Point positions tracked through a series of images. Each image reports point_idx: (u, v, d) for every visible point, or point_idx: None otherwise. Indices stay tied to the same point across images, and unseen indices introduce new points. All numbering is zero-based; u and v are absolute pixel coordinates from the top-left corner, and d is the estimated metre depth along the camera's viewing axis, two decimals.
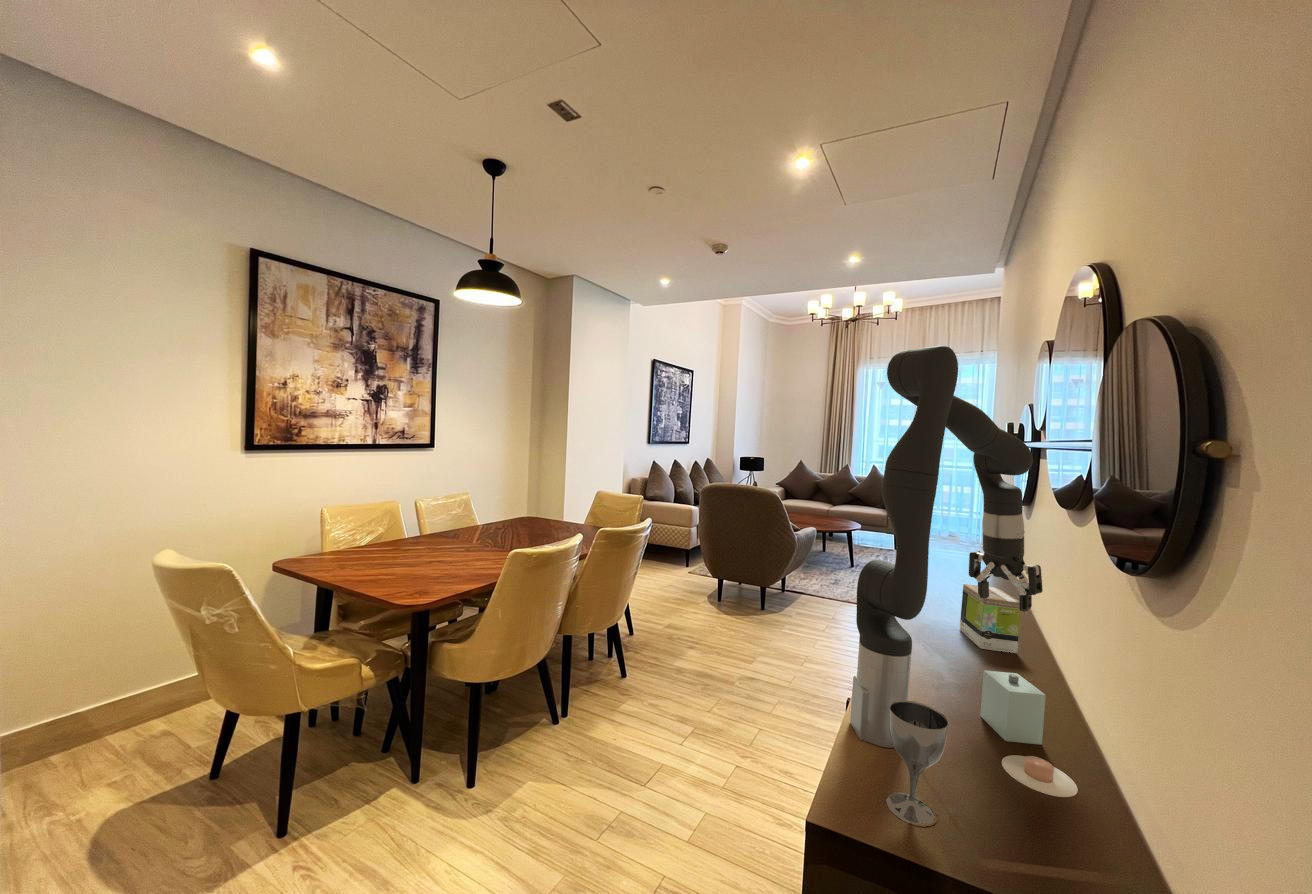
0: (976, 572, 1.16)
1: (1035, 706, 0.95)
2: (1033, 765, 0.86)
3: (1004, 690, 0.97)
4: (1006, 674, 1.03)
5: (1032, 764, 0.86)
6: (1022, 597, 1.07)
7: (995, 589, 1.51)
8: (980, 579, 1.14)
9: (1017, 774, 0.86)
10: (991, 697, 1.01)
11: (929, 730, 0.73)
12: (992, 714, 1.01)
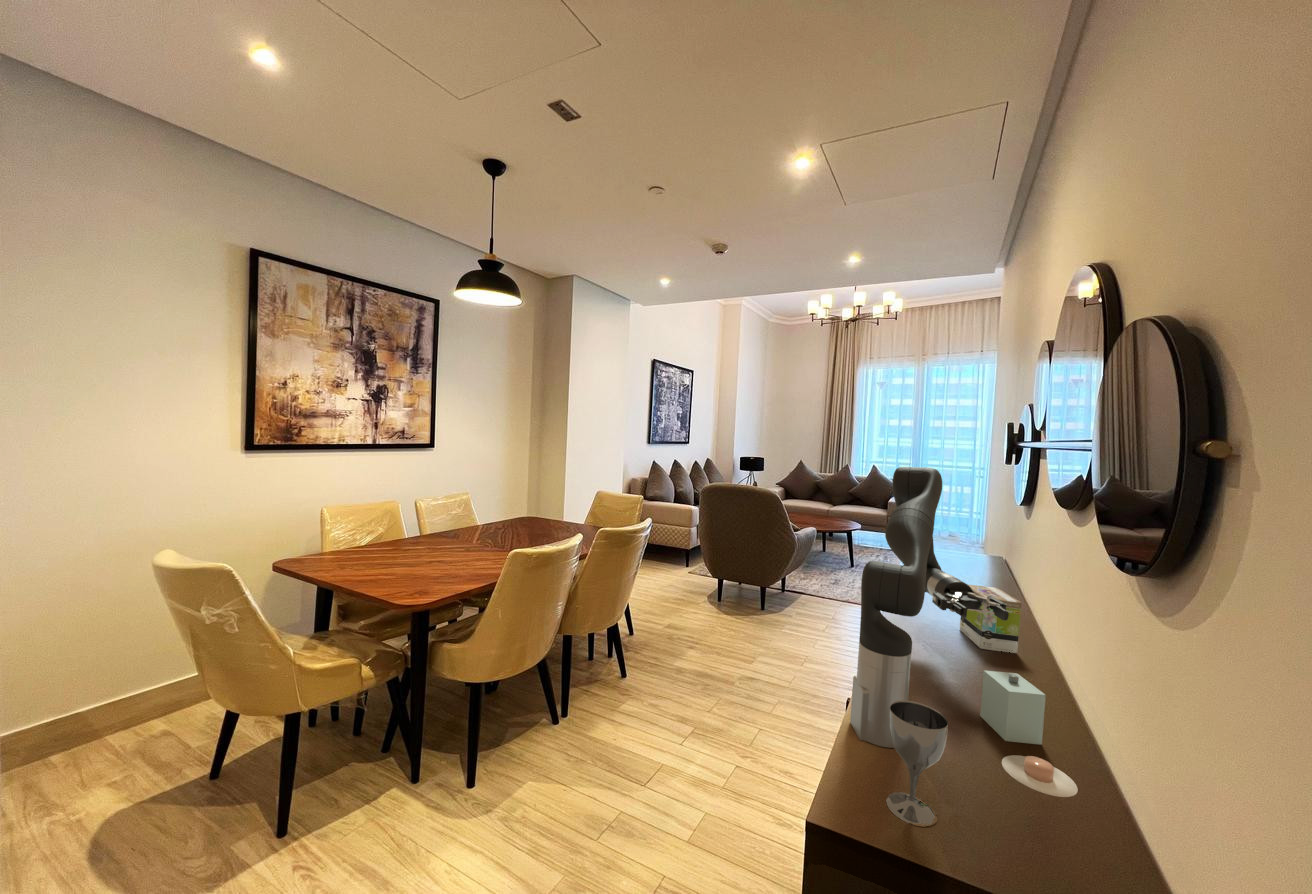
0: None
1: (1035, 706, 0.95)
2: (1033, 765, 0.86)
3: (1004, 690, 0.97)
4: (1006, 674, 1.03)
5: (1032, 764, 0.86)
6: (998, 606, 1.13)
7: (995, 589, 1.51)
8: (955, 600, 1.15)
9: (1017, 774, 0.86)
10: (991, 697, 1.01)
11: (929, 730, 0.73)
12: (992, 714, 1.01)
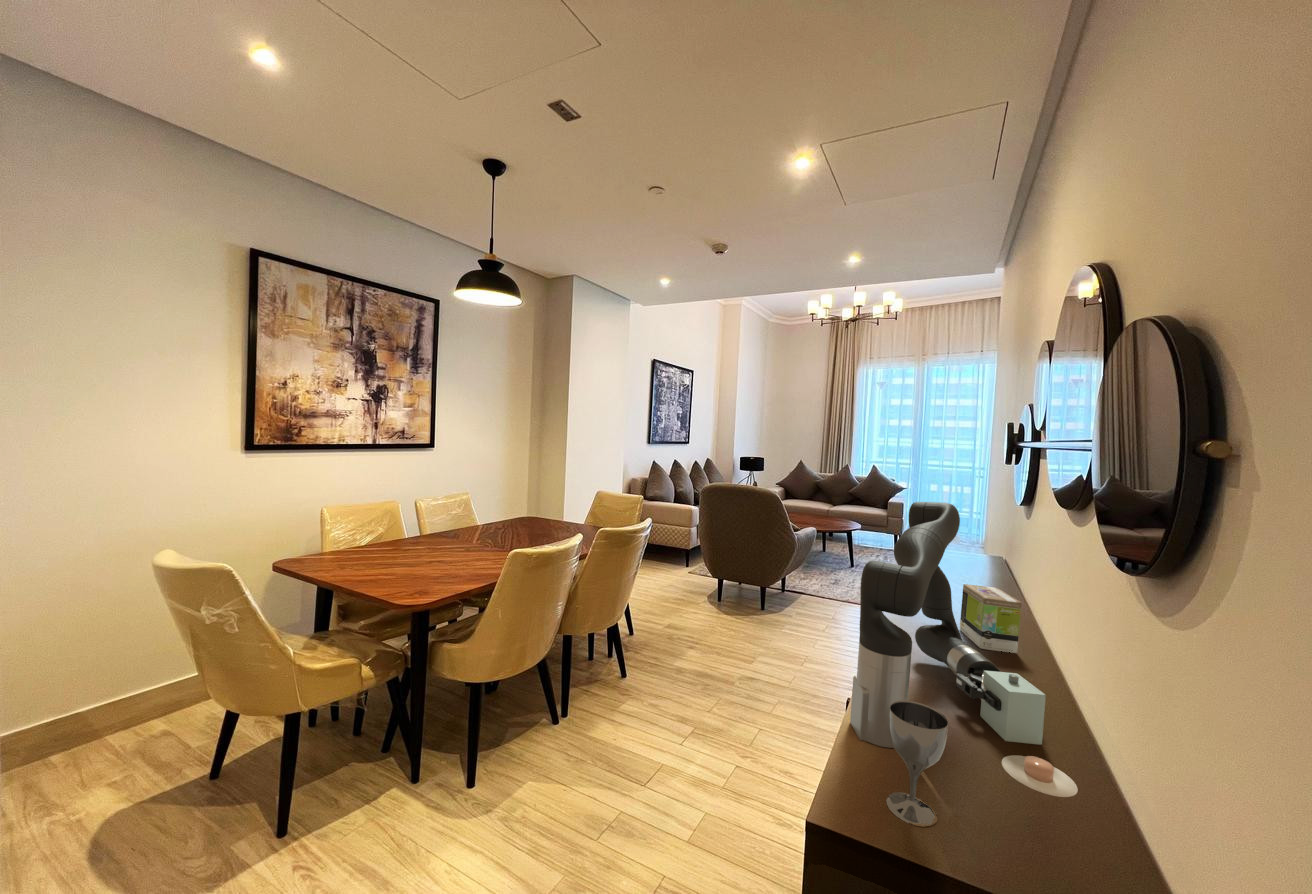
0: None
1: (1035, 706, 0.95)
2: (1033, 765, 0.86)
3: (1004, 690, 0.97)
4: (1006, 674, 1.03)
5: (1032, 764, 0.86)
6: None
7: (995, 589, 1.51)
8: (986, 688, 1.02)
9: (1017, 774, 0.86)
10: None
11: (929, 730, 0.73)
12: (992, 714, 1.01)
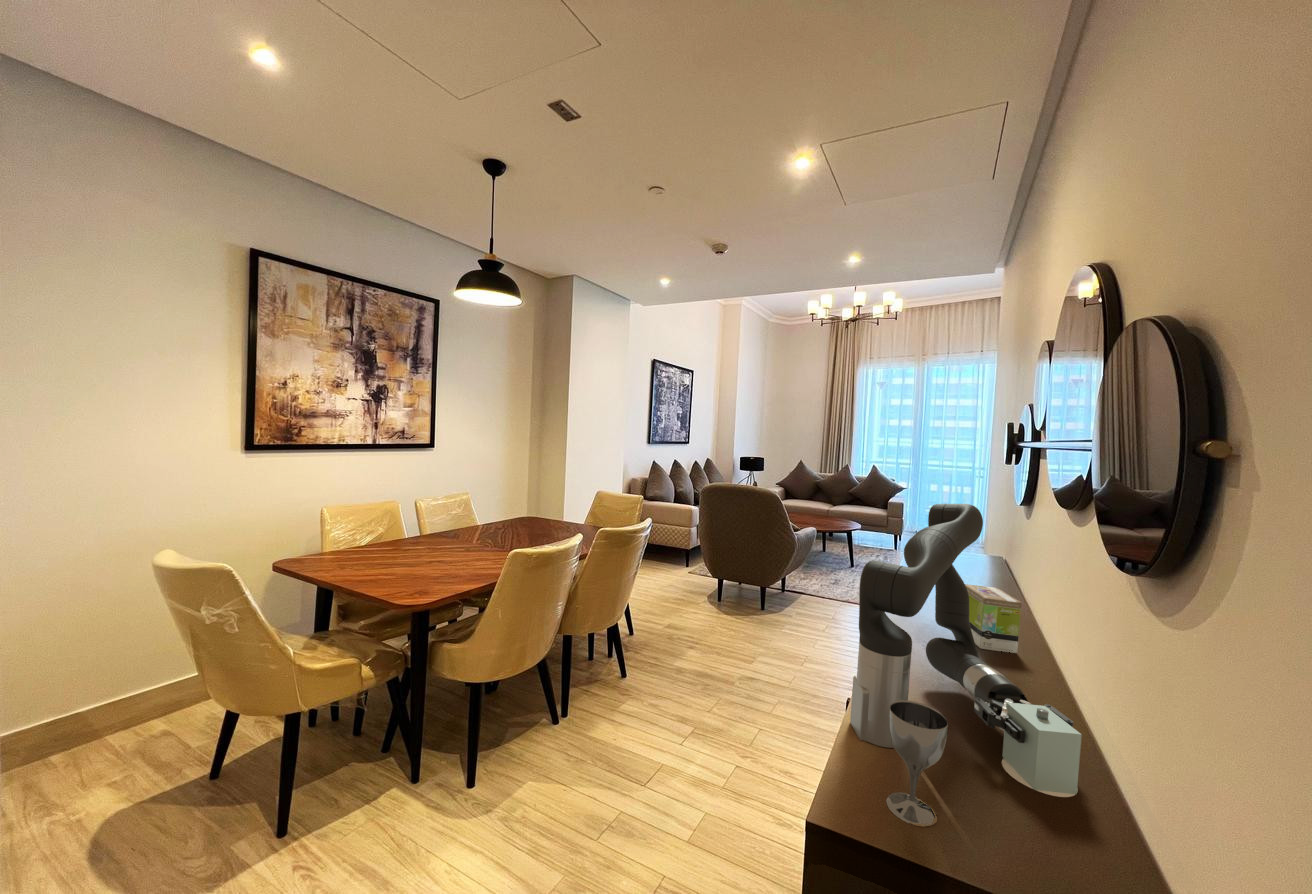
0: None
1: (1069, 747, 0.82)
2: None
3: (1032, 728, 0.84)
4: (1033, 707, 0.89)
5: None
6: None
7: (995, 589, 1.51)
8: (1006, 715, 0.89)
9: (1017, 774, 0.86)
10: None
11: (929, 730, 0.73)
12: (1017, 754, 0.87)
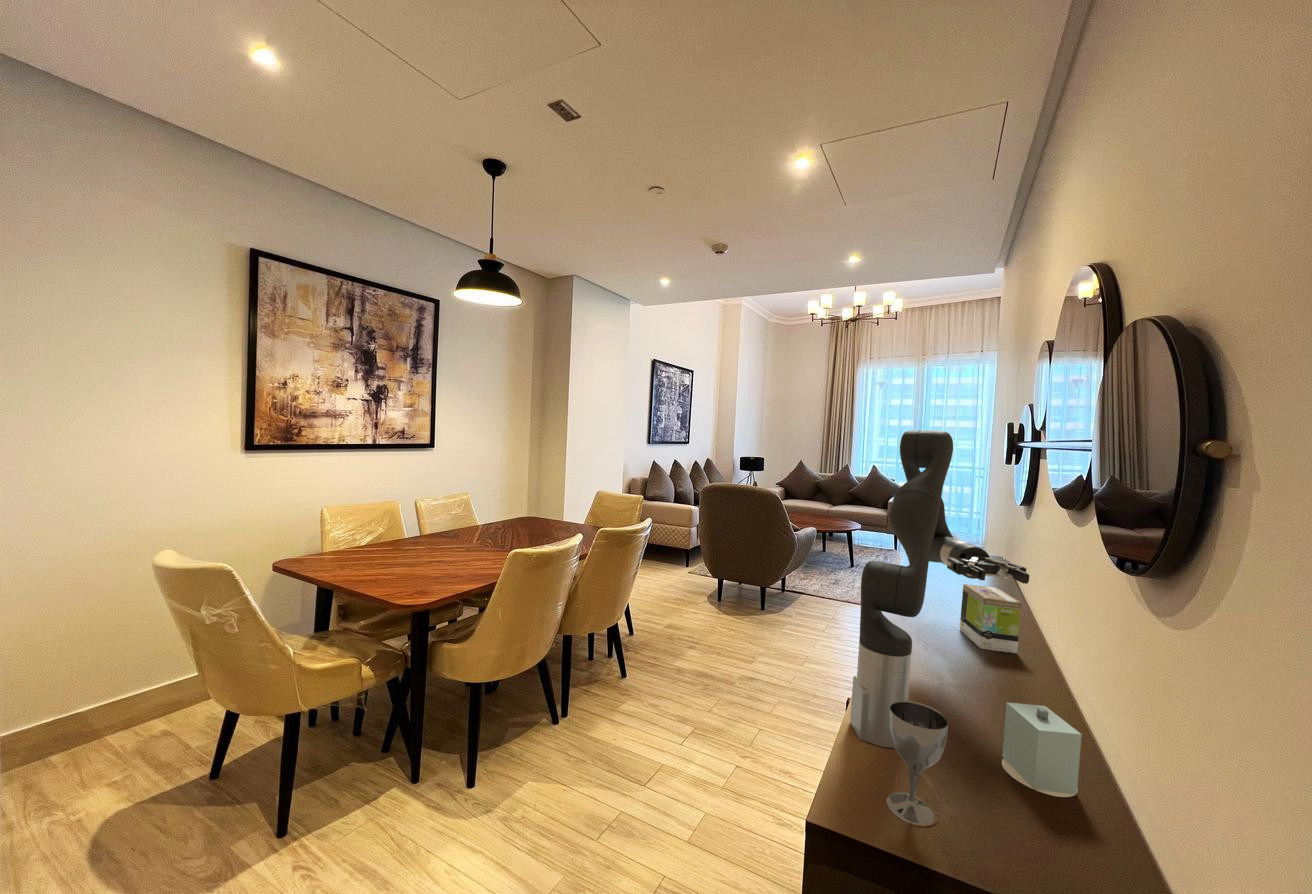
0: None
1: (1069, 747, 0.82)
2: None
3: (1032, 728, 0.84)
4: (1033, 707, 0.89)
5: None
6: None
7: (995, 589, 1.51)
8: (971, 564, 1.09)
9: (1017, 774, 0.86)
10: (1016, 734, 0.88)
11: (929, 730, 0.73)
12: (1017, 754, 0.87)
